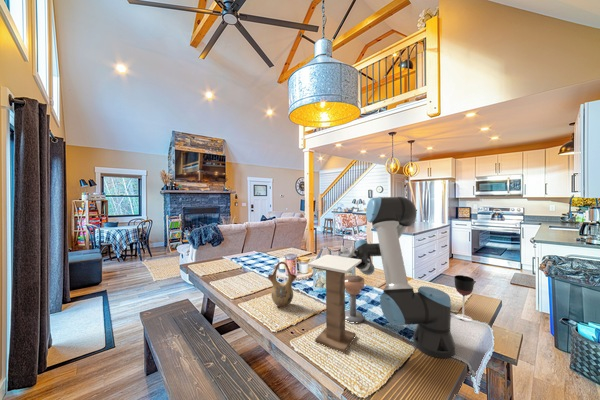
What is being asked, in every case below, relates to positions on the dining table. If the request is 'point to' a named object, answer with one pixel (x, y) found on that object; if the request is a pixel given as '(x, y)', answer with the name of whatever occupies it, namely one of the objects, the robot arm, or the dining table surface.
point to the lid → (336, 262)
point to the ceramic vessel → (282, 288)
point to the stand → (335, 313)
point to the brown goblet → (353, 297)
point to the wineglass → (464, 289)
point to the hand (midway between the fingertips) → (346, 248)
